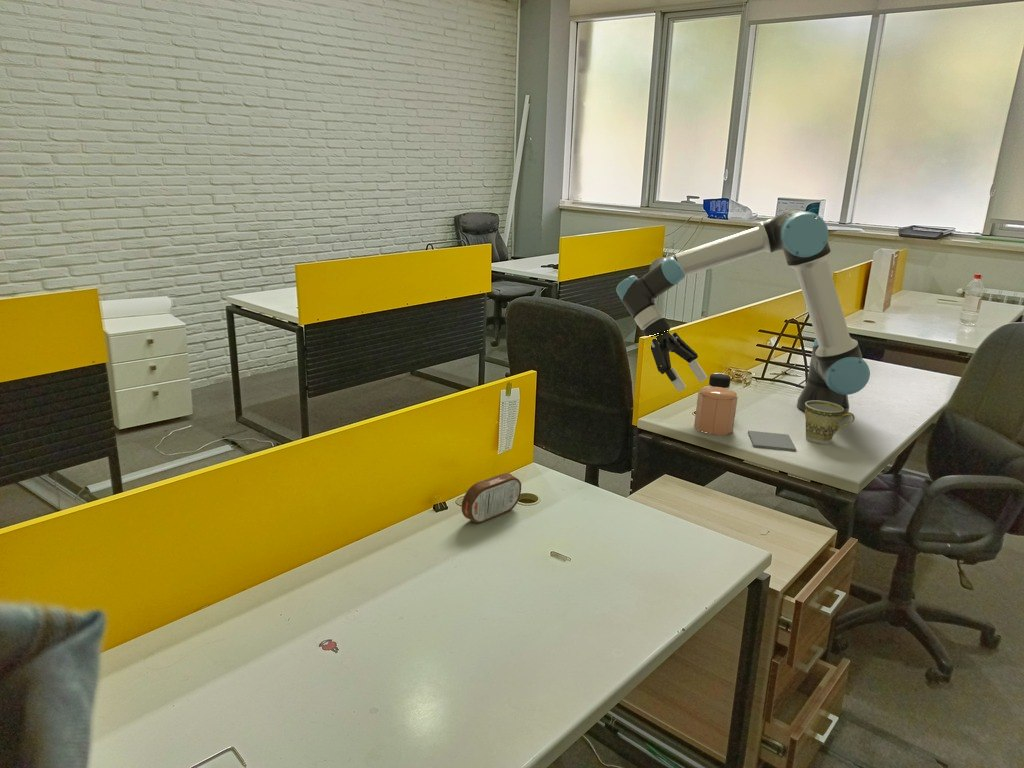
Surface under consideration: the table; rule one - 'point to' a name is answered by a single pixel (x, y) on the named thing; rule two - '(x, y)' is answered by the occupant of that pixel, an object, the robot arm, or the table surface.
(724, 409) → the peach domed post
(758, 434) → the slate mat
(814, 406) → the ceramic cup
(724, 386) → the medicine bottle
